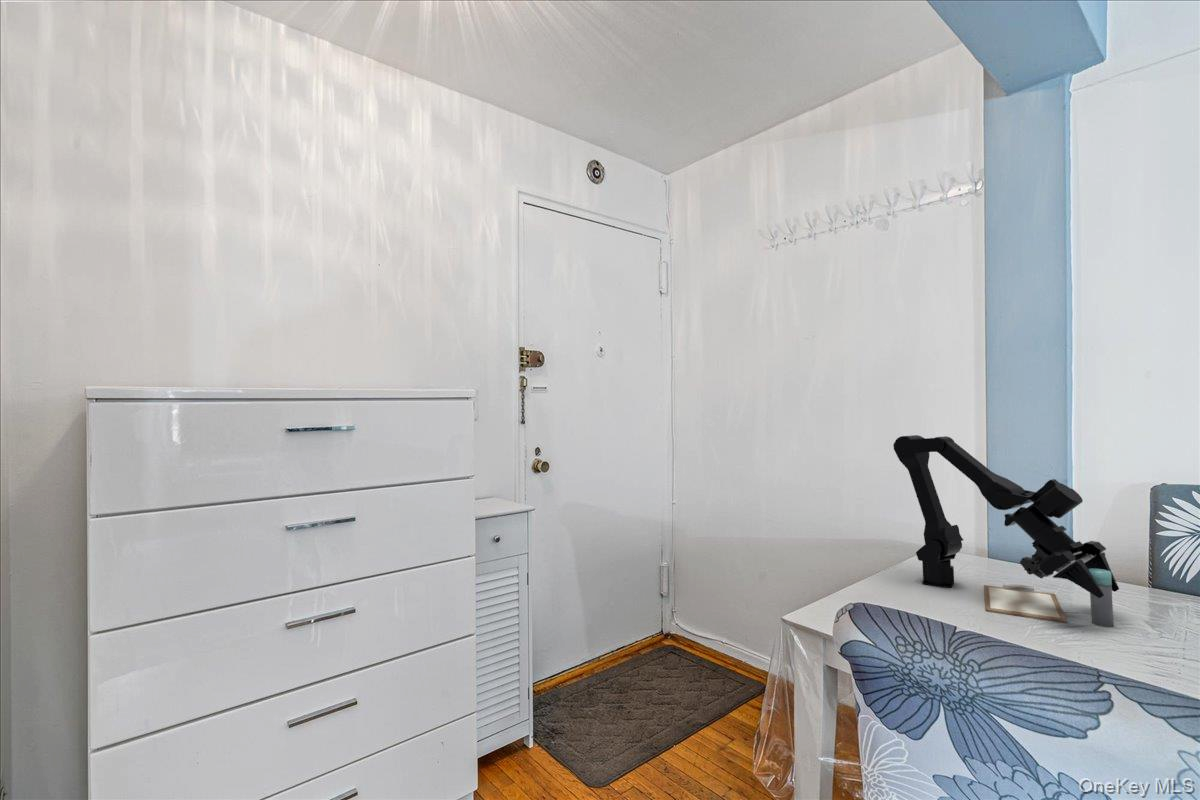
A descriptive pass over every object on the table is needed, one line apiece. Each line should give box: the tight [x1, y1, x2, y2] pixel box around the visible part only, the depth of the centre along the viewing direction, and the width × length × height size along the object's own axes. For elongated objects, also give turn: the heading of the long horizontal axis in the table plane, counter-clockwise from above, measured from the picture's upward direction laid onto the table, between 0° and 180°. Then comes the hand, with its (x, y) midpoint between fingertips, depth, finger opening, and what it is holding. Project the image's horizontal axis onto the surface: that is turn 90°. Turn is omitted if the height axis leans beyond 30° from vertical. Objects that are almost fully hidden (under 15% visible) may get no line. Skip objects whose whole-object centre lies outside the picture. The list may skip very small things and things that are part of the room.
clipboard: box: [983, 582, 1068, 624], centre depth 127 cm, size 14×20×2 cm
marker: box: [1088, 568, 1115, 628], centre depth 114 cm, size 4×4×11 cm
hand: (1109, 593), depth 112 cm, fingers open, 7 cm apart
